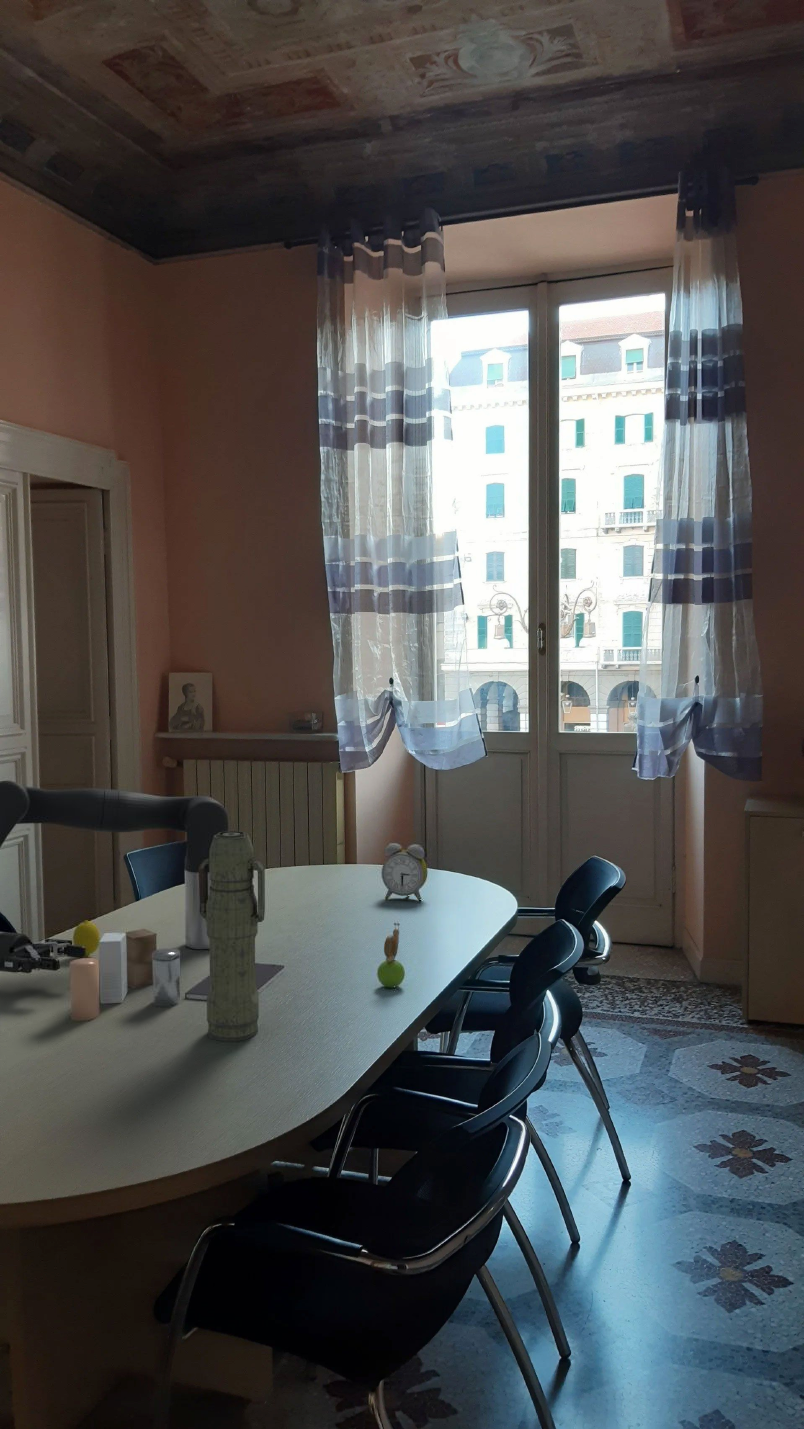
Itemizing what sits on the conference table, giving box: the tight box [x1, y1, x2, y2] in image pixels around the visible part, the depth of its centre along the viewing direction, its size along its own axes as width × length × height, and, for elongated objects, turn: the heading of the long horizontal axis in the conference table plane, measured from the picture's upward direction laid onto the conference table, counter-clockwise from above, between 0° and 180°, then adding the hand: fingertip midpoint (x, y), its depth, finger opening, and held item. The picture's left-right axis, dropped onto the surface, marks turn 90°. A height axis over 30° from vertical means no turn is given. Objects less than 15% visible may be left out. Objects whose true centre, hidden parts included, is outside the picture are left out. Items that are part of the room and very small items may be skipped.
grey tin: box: [152, 948, 181, 1008], centre depth 199 cm, size 5×5×10 cm
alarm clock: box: [381, 842, 428, 901], centre depth 281 cm, size 12×7×15 cm, turn 73°
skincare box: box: [98, 932, 128, 1005], centre depth 201 cm, size 6×4×12 cm
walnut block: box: [123, 928, 158, 989], centre depth 211 cm, size 5×5×10 cm
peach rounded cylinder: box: [69, 957, 100, 1022], centre depth 192 cm, size 5×5×10 cm
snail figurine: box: [376, 922, 406, 988], centre depth 209 cm, size 5×6×12 cm
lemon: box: [72, 920, 101, 958], centre depth 229 cm, size 6×6×8 cm
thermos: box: [198, 830, 266, 1043], centre depth 183 cm, size 9×12×35 cm
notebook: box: [184, 962, 285, 1001], centre depth 211 cm, size 13×2×21 cm
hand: (71, 958), depth 204 cm, fingers open, 8 cm apart
